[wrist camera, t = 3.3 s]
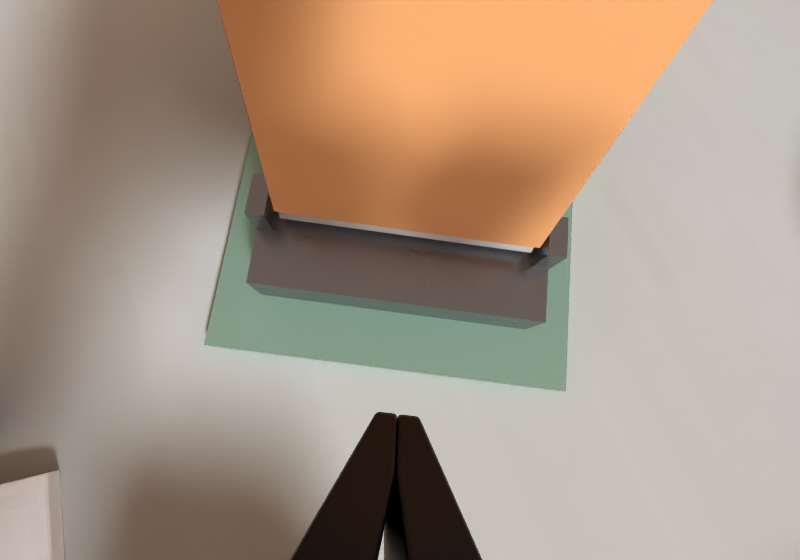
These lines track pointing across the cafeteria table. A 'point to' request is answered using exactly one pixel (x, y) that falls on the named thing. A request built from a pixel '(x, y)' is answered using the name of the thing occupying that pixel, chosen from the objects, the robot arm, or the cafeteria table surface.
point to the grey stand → (399, 269)
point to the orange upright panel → (444, 106)
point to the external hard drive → (32, 518)
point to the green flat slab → (383, 324)
